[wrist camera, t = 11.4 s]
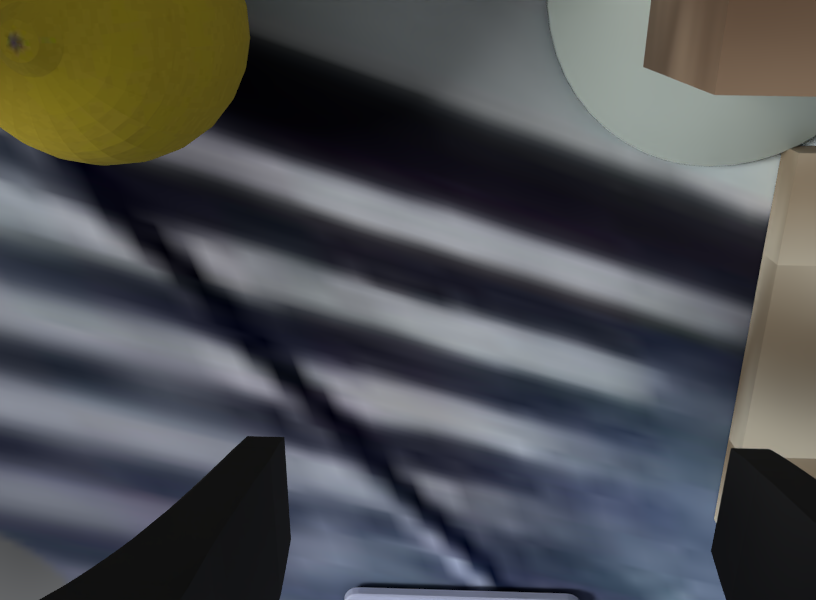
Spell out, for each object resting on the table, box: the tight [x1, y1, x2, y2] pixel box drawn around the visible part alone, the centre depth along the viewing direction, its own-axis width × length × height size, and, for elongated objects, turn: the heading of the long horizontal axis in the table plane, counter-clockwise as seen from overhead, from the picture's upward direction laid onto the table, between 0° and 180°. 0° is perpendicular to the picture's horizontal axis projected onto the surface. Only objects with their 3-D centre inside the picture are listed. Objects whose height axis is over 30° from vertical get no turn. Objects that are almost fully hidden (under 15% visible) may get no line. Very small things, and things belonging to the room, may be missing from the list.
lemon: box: [0, 0, 250, 165], centre depth 16 cm, size 6×6×8 cm
